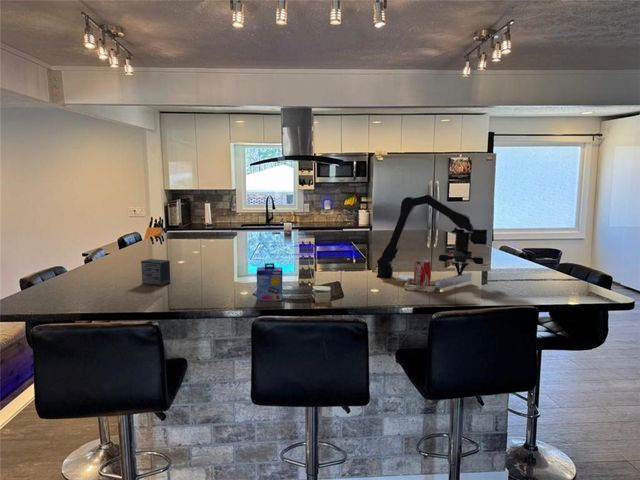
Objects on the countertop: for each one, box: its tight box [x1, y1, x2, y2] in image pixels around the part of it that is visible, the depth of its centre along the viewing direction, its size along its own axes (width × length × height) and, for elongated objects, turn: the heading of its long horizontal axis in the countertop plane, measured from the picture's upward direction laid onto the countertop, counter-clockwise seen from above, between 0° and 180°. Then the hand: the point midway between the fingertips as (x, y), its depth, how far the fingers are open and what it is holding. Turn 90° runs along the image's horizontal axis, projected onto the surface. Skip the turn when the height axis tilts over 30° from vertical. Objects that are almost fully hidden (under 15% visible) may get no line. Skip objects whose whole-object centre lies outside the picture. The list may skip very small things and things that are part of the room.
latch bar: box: [434, 272, 473, 290], centre depth 185 cm, size 2×26×4 cm, turn 129°
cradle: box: [403, 278, 441, 294], centre depth 186 cm, size 15×14×2 cm
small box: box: [140, 258, 171, 287], centre depth 186 cm, size 11×6×10 cm, turn 71°
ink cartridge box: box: [256, 262, 283, 302], centre depth 165 cm, size 10×6×14 cm, turn 95°
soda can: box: [413, 258, 432, 287], centre depth 185 cm, size 7×7×12 cm
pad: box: [395, 274, 414, 282], centre depth 201 cm, size 11×11×1 cm
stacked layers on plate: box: [311, 285, 332, 304], centre depth 164 cm, size 10×9×6 cm
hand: (459, 277), depth 192 cm, fingers closed
